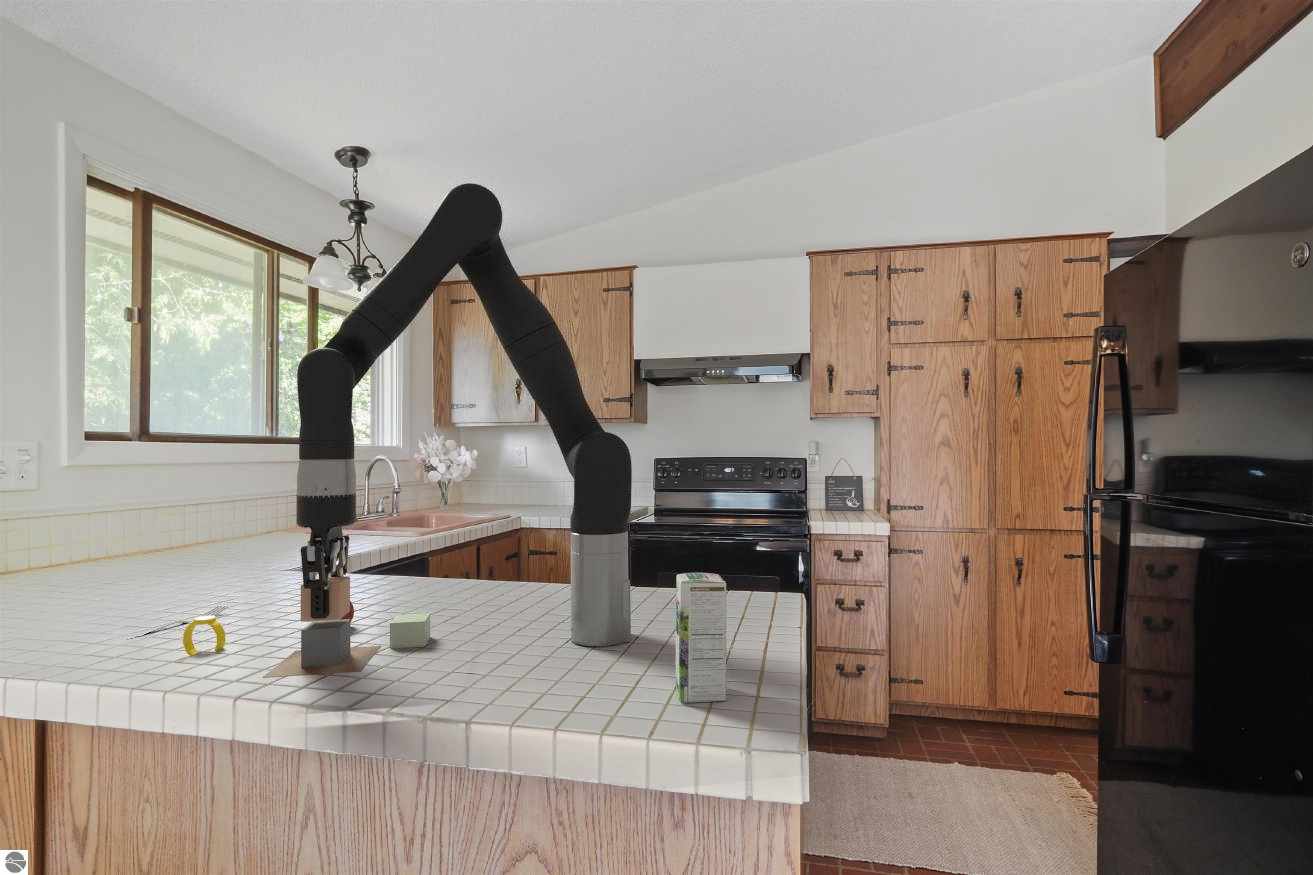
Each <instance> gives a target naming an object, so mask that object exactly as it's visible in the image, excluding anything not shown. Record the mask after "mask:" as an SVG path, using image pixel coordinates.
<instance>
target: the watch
mask: <svg viewBox="0 0 1313 875" xmlns="http://www.w3.org/2000/svg"><path fill="white" fill-rule="evenodd" d="M191 622H192V623H188V625H187V627H186V628H185V630H184V632H183V636H182V637H183V638H182V644H183V647H184V650H185V652H186V654H188V655H189V657H192V656H195V655H196V654H197V653H199V651H198V650H197V649H196V647H195V645H194V643H193V632H194V631H195V628H196V626H198V625H208V626H209V627H211V628H212V630H213V631H214V633H215V637H216V644H215V646H214V650H213V652H214V651H219V650H221V649H224V647H225V645H226V642H227V640H226V632H225V630H224V628H223V626H222V624H221V623H220V622H218V621H217V616H213V615H212V616H209V615H208V616H205V615H204V616H201V615H200V617H199V616H197V617H195V618H193V621H191Z"/></svg>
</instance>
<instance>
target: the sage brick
mask: <svg viewBox="0 0 1313 875" xmlns="http://www.w3.org/2000/svg"><path fill="white" fill-rule="evenodd" d="M430 638H431V613H415V614H413V613H412V614H396V616H395V617H394V618H393V619H392V620H391V621H390V622H389V648H390V649H403V648H415V647H416V648H418V647H426V646H427V644H428V642H429V641H430Z"/></svg>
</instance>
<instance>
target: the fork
mask: <svg viewBox="0 0 1313 875" xmlns="http://www.w3.org/2000/svg"><path fill="white" fill-rule="evenodd" d="M227 608H229V606H225V605H221V606H220V605H217V606H215V607H214V608H212V609H210V610H209V611H207V612H205V613H203V614H201V615H200V616H215V617H217V616H218V615H219V614H220V613H222V612H223V611H225V610H226V609H227ZM200 616H198V617H200ZM189 622H190V621H184V620H183V621H181V620H175V621H171V622H168V623H165V624H162V625H160V626H157V627H154V628H152V629H149V630H147V631H144V632H143V631H142V632H141V633H142V634H143V633H149V632H151V633H153V631H154V632H156V631H159V630H161V629H163V628H166V627H169V626H172V625H174V624H180V623H182V624H190V623H189ZM149 634H150V633H149Z"/></svg>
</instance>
